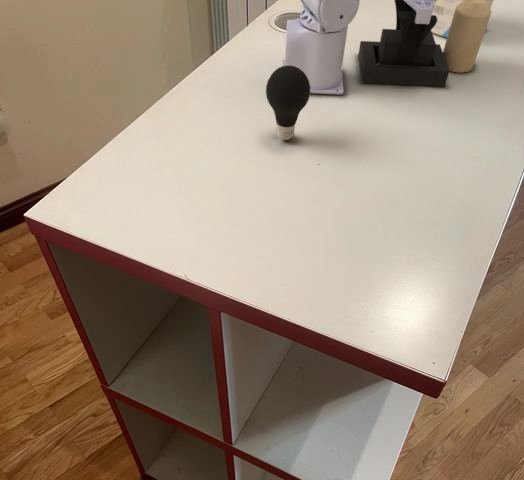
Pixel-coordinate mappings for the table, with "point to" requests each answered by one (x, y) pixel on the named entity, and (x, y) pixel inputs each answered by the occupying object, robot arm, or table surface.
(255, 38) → the table surface
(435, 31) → the ink box
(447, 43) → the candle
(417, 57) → the small block
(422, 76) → the socket pad
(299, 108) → the light bulb
